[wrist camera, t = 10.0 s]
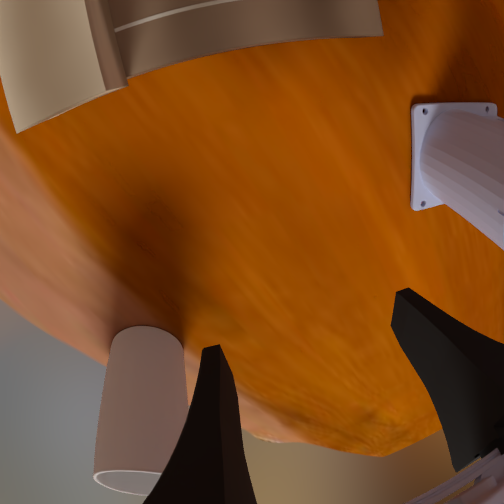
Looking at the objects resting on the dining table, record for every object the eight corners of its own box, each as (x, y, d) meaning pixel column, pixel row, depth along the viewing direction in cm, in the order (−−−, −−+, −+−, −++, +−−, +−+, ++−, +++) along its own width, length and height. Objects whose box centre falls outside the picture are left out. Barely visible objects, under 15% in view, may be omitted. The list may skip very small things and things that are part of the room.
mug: (136, 308, 22) (123, 462, 12) (203, 347, 26) (219, 483, 16) (80, 366, 25) (63, 484, 15) (138, 394, 28) (138, 504, 18)
